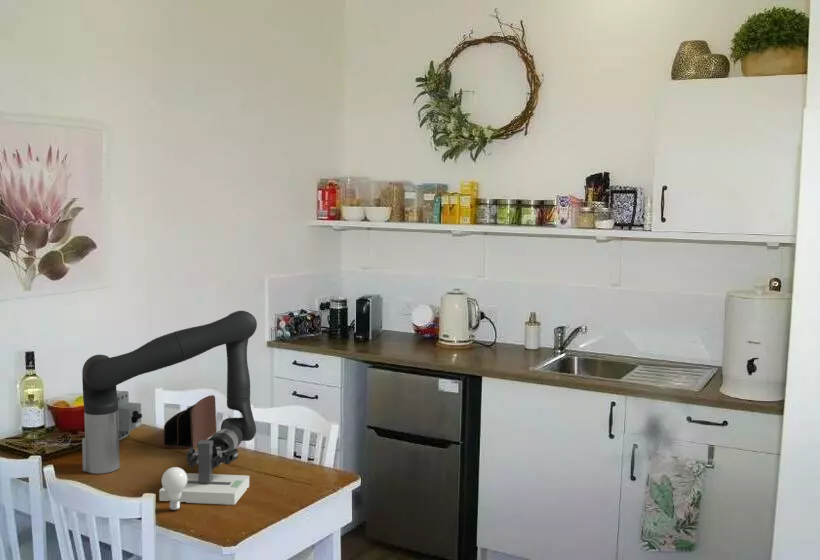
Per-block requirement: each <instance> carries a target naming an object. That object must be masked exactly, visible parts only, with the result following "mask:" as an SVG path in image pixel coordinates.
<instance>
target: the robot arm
mask: <svg viewBox="0 0 820 560" xmlns="http://www.w3.org/2000/svg"><path fill="white" fill-rule="evenodd" d="M257 323H258V322H257V319H256V317H255V315H253V314H252V313H250V312H248V311H246V310H237V311H234V312H231V313H229V314H228V315H227V316H225V317H222V318H220V319H218V320H215V321H212V322H210V323H207V324H201V325H198V326H192V327H188V328H185V329H179V330H176V331H172V332H169V333H166V334H164V335H161V336H159V337H156V338H153V339H152V340H150V341H148V342H146V343H144V344H143V345H141V346H139V347H138V348H136V349H134V350H132V351H130V352H127V353H122V354H120V355H115V356H112V357H109V356H108V355H105V354H95V355H92V356H90V357H89V358H87V360H86V361H85V362H84V363H83V367H82V370H81V371H82V373H81V374H82V376H81V377H82V379H81V380H82V401H83V408H84V409H83V411H84V413H83V414H84V417H83V418H84V437H82V439H81V449H82V450H81V451H82V453H81V454H82V455H81V456H82V459H81V460H82V472H87V473H88V474H96V475H97V474H99V475H100V474H109V473H111V472H115V471H117V470H119V469H120V440H119V421H118V398H117V391H118V390H117V386H118V385H120V384H122V383H125V382H126V381H129V380H131V379H133V378H135V377H138V376H141V375H144V374H147V373H152V372H156V371H159V370H162V369H164V368H167V367H171V366H174V365H177V364H179V363H183V362H185V361H188V360H190V359H193V358H195V357H197V356H199V355H201V354H204V353H205V352H208V351H210V350H212V349H214V348H217V347H221V346H223V345H224V346H225V348H226V349H225V350H226V365H227V367H226V368H227V371H226V372H227V376H226V406H227V408H228V409H229V410H232V411H237V412H239V413H240V414H241V416H242V417H227V418H225V419H223V420H222V422H221V425H220V430H218V431H216V433H215V434H214V435H212V436H211V437H209V438H208V439H207V440H208V441H213V446H212V469H216V468H217V467H219V466H220V465H222V464H225V465H229V464H230V463H232V462H234V461H235V460H237V459H239V457H238V456H239V450H238V447H240V446H239V445H240V444H241V443H242V442H249V441H252V440H253V439H254V438H255V436H256V433H257V426H256V422H255V418H254V416H253V415H254V414H253V411H252V405H251V379H250V370H249V365H248V345H249V344H248V343H249V339H250V338H252V336H254V334H255V333H256V330H257V326H258V324H257ZM186 455H187V456H186V463H188V466H189V467H190V468H194V467H195V466H196V465H198V449H196V448H194V447H190V448H189V450H188V449H187V453H186Z"/></svg>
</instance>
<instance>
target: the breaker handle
mask: <svg viewBox="0 0 820 560" xmlns="http://www.w3.org/2000/svg"><path fill="white" fill-rule="evenodd" d="M212 446H213V441H208V439H207V440H200V441H199V442H198V443H197V447H196V448H197V450H198V456H197V459H198V463H197V465H198V466H197V470H198V471H197V474H198V483H210V482H211V481H212V480H213V475H212V474H213V468H212Z"/></svg>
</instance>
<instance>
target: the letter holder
mask: <svg viewBox="0 0 820 560" xmlns="http://www.w3.org/2000/svg"><path fill="white" fill-rule="evenodd" d="M216 407H217V406H216V396H215V395H213V394H211V395H208V396H206V397H202V399H200V400H198V401H197V402H196V403H195V404H192V405H191V406H189V407H188V408H186V409H184V410H182V411H179V412H178V413H176V414H174V415H173V416H172V417H170V418H169V419H167V421H166V422H165V423H164V426H163V449H172V448H180V449H179V450H188V449H189V448H190V447H194V449H196V448H197V443H198V442H199V441H200V440H208V439H210V438H211V437H212V436H213V435H214V434H215V433H216V432H217V410H216V409H217V408H216ZM195 447H196V448H195Z"/></svg>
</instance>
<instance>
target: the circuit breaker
mask: <svg viewBox="0 0 820 560" xmlns="http://www.w3.org/2000/svg"><path fill="white" fill-rule="evenodd" d="M116 391H117V398H118V421H119V436H120V437H119V441H121V440H123V439H125V438H127V437H129V436H130V432H131V431H133V430H136V429H137V428H139V427H141V426H142V418H143V414H142V404H141V402H130V397H129V391H128V390H116ZM122 435H123V436H122ZM128 435H129V436H128ZM126 436H127V437H126Z"/></svg>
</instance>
